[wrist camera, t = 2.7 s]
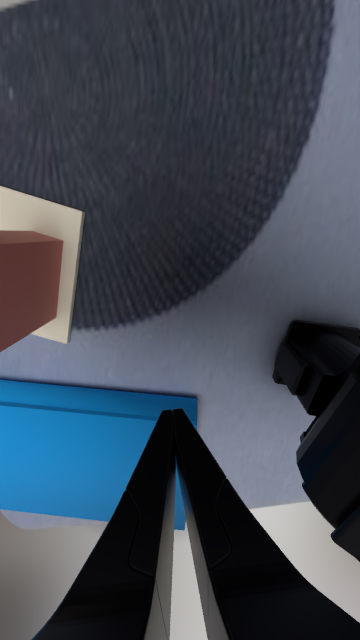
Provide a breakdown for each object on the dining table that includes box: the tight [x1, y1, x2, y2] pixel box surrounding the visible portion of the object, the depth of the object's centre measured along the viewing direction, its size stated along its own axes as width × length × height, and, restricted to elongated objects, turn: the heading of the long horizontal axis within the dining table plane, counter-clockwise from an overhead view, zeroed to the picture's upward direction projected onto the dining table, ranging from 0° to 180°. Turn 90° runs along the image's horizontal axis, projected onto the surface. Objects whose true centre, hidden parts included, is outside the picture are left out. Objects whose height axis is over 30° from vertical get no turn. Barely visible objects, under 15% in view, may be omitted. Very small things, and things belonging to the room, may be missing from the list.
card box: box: [0, 230, 63, 352], centre depth 15 cm, size 3×7×9 cm, turn 164°
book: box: [0, 380, 197, 530], centre depth 26 cm, size 17×4×25 cm
